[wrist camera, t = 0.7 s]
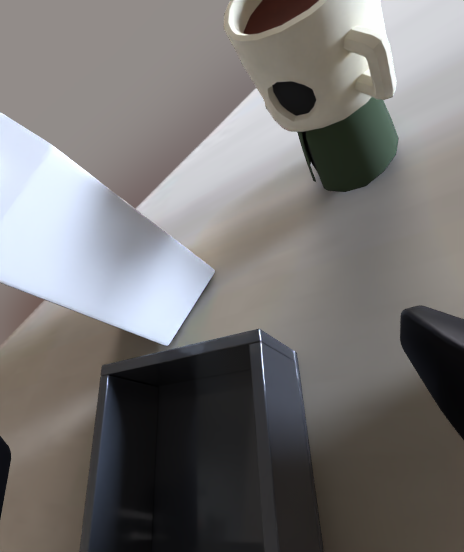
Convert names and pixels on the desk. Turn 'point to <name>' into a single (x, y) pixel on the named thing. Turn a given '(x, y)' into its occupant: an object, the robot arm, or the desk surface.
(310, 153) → the character mug
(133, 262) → the milk carton
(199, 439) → the dark grey open box
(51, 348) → the desk surface
